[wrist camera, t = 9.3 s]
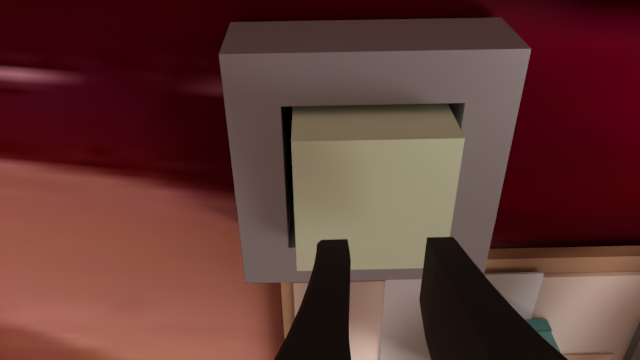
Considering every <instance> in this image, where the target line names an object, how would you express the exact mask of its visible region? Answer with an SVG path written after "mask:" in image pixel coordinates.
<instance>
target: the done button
mask: <svg viewBox="0 0 640 360" xmlns="http://www.w3.org/2000/svg"><path fill="white" fill-rule="evenodd" d="M464 141H465V137H464V135H463V133H462V131H461V129H460V127H459V125H458V123H457V121H456V119H455V117H454V115H453V113H452V111H451V109H450V107H449V105H448V103H441V104H388V105H336V106H293V108H292V131H291V153H292V175H293V197H294V219H295V241H296V263H297V271H312V270H313V266H314V262H315V257H316V251H317V243H318V242H320V241H321V240H333V239H348V245H349V251H350V258H351V269H350V270H366V269H411V268H423V266H424V258H425V250H426V242H427V237H450V232H451V225H452V219H453V213H454V206H455V200H456V193H457V187H458V180H459V174H460V167H461V161H462V154H463V148H464Z"/></svg>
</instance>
